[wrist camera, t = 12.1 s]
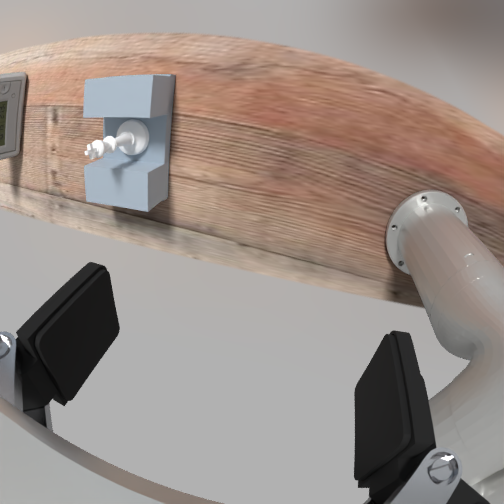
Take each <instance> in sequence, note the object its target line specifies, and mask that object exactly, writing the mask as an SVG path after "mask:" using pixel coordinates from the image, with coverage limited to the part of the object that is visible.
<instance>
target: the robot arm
mask: <svg viewBox="0 0 504 504" xmlns="http://www.w3.org/2000/svg"><path fill="white" fill-rule="evenodd" d="M422 196H423V198H422ZM421 198H422V199H421ZM455 208H456V209H455ZM393 225H395V226H394V227H392V226H393ZM386 247H387V251H388V253H389V256H390V258H391V260H392V261H393V263H394V264H395V265H396V267H397V268H399V269H400V270H401V271H403V272H404V273H407V274H409V275H411V277H412V279H413V281H414V283H415V286H416V288H417V290H418V292H419V295H420V297H421V299H422V302H423V304H424V307H425V309H426V312H427V314H428V317H429V319H430V322H431V324H432V327H433V330H434V332H435V335H436V337H437V339H438V341H439V342H440V344H441V345H442V346H443V347H444V348H445V349H446V350H447V351H448V352H449V353H451V354H453V355H455V356H457V357H460V358H463V359H466V360H470V362H469V364H468V365H467V367H466V368H465V369H464V370H463V371H462V372H461V373H460V374H459V375H458V376H457V377H455V379H454V380H453V381H452V382H451V383H450V384H449V385H447V386H446V387H445V388H444V389H442V390H441V391H440V392H439V393H437V394H436V395H435V396H434V397H432V398H431V399H430V400H429V401H428V396H427V391H426V387H425V382H424V379H423V377H422V376H421V374H420V370H419V366H418V362H417V358H416V354H415V350H414V346H413V343H412V339H411V336H410V334H409V333H406V332H400V331H392V332H391V333H390V334H386V335H385V336H384V338H383V340H382V341H381V343H380V345H379V347H378V349H377V351H376V352H375V354H374V356H373V358H372V359H371V361H370V363H369V365H368V366H367V368H366V370H365V371H364V373H363V375H362V377H361V378H360V380H359V381H358V383H357V385H356V388H355V462H354V478H355V480H358V488H369V498H368V500H367V501H366V502H365V503H364V504H504V267H503V266H502V264H501V263H500V262H499V261H498V260H497V259H496V257H495V256H494V255H493V254H492V253H491V252H490V251H489V249H488V248H487V247H486V246H485V245H484V243H482V242H481V241H480V239H479V238H478V237H477V236H476V235H475V234H474V233H473V232H472V231H471V230H470V229H469V228H468V221H467V217H466V214H465V212H464V210H463V208H462V206H461V205H460V204H459V202H458V201H457V200H456V199H454V198H453V197H452V196H450V195H449V194H447V193H445V192H442V191H439V190H423V191H420V192H417V193H414V194H413V195H411V196H409V197H407V198H406V199H405V200H404V201H402V202H401V203H400V204H399V205H398V207H397V208H396V209H395V210H394V212H393V214H392V215H391V217H390V219H389V222H388V225H387V229H386ZM119 329H120V327H119V323H118V318H117V312H116V307H115V302H114V297H113V291H112V285H111V280H110V274H109V272H108V271H107V269H106V267H105V266H103V265H99V264H96V263H93V262H89V263H88V264H87V265H86V266H84V267H83V268H82V269H81V270H80V271H79V272H78V273H76V274H75V275H74V276H73V277H72V278H71V279H70V280H69V281H68V282H67V283H66V284H65V285H63V286H62V287H61V288H60V289H59V290H58V291H57V292H56V293H55V294H54V295H53V296H52V297H51V298H50V299H49V300H48V301H46V302H45V303H44V304H43V305H42V306H41V308H39V309H38V310H37V311H36V312H35V313H34V314H33V315H32V316H31V317H30V318H29V320H27V321H26V322H25V323H24V324H23V326H22V327H21V328H20V329H19V330H18V331H17V332H16V333H17V335H18V338H17V339H16V340H15V338H14V336H13V335H12V334H11V333H8V332H0V504H223V503H218V502H215V501H211V500H207V499H203V498H200V497H196V496H193V495H190V494H186V493H183V492H180V491H177V490H174V489H171V488H168V487H165V486H163V485H160V484H157V483H154V482H152V481H149V480H147V479H144V478H142V477H139V476H137V475H134V474H132V473H129V472H127V471H125V470H123V469H121V468H118V467H116V466H114V465H112V464H110V463H108V462H106V461H104V460H102V459H100V458H97V457H96V456H94V455H91V454H90V453H88V452H86V451H84V450H82V449H80V448H79V447H77V446H75V445H73V444H72V443H70V442H68V441H67V440H64V439H63V438H62V437H60V436H58V435H57V434H55V433H53V430H52V422H51V414H50V406H49V402H50V401H51V399H52V398H53V399H54V400H55V401H57V402H58V403H60V404H62V405H63V406H65V405H66V403H67V401H71V400H72V399H73V398H74V397H75V395H76V394H77V392H78V391H79V389H80V388H81V387H82V385H83V384H84V382H85V380H86V379H87V378H88V376H89V375H90V374H91V372H92V371H93V369H94V368H95V366H96V365H97V364H98V362H99V361H100V359H101V358H102V357H103V355H104V354H105V352H106V351H107V350H108V348H109V347H110V345H111V344H112V343H113V341H114V340H115V338H116V337H117V336H118V333H119Z"/></svg>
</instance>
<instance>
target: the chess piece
mask: <svg viewBox="0 0 504 504" xmlns="http://www.w3.org/2000/svg"><path fill="white" fill-rule="evenodd" d="M148 142H149V132H148V129H147V127H146V126H145V124H144V123H143V122H141V121H140V120H137V119H130V120H128V121H126V122H124V123H123V124H122V125H121V126H120V127H119V129H118V131H117V135H116V138H114V137H112V136H107V137H106V138H104V140H103V141H101V140H96V141H94V142H93V143H91V144H88V145H87V148H88V150H87V151H85V155H88V154H89V157H90V159H94V158H95V157H97V158H99V157H101V156H103V155H104V154H105V152H106V153H113V152H114V151H115V150H116V148H117V147H119V148H120V150H121V151H122V152H124V153H125V154H127V155H137V154H140V153H142V152H143V151H144V150H145V149H146V147H147V145H148Z"/></svg>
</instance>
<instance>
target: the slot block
mask: <svg viewBox="0 0 504 504" xmlns="http://www.w3.org/2000/svg"><path fill="white" fill-rule="evenodd" d="M175 78H176V75H172V74H154V75H128V76H113V77H106V78H96V79H87V80H85V89H84V114H83V118H87V117H104V123H103V140H104V138H106V137H107V136H112V137H114V138H116V135H117V131H118V129H119V127H120V126H121V125H122V124H123V123H124V122H126V121H128V120H130V119H137V120H140V121H141V122H143V123H144V124H145V126H146V127H147V129H148V132H149V142H148V145H147V147H146V149H145V150H144V151H143V152H142V153H140V154H137V155H127V154H125V153H124V152H122V151H121V150H120V148H119V147H117V148H116V150H115V151H114V152H113V153H106V152H105V154H104V155H103V158H102V159H99V160H97V161H95V162H92V163H90V164H88V165H85V166H84V174H85V189H86V201H88V202H94V203H100V204H106V205H112V206H118V207H123V208H129V209H135V210H141V211H146V212H148V211H150V210H151V209H152V208H153V207H155V206H156V205H157V204H158V203H160V202H161V201H164V200H166V199H167V198H168V176H169V153H170V136H171V121H172V109H173V97H174V87H175Z"/></svg>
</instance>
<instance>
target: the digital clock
mask: <svg viewBox="0 0 504 504" xmlns="http://www.w3.org/2000/svg"><path fill="white" fill-rule="evenodd" d="M26 78H27V75H26V73H25V72H16V73H6V74H0V160H2V159H6V158H10V157H14V156H16V155H18V154H19V151H20V137H21V134H22V119H23V108H24V99H25V85H26Z"/></svg>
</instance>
